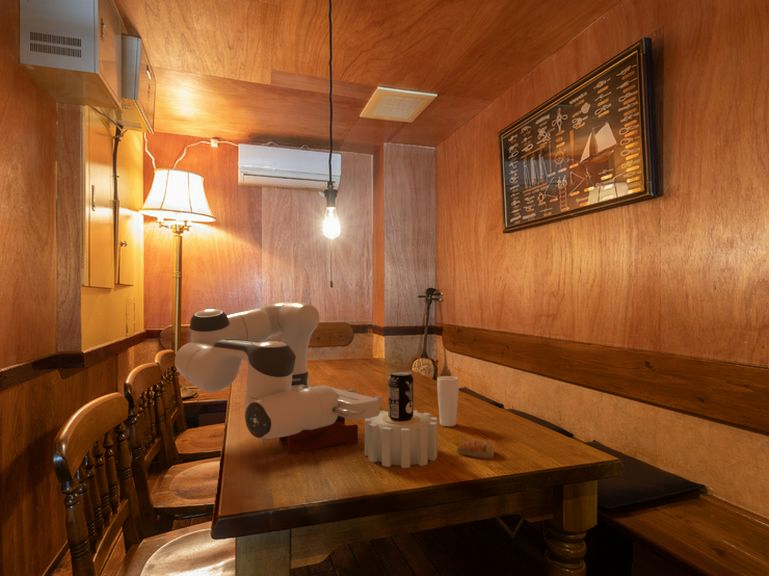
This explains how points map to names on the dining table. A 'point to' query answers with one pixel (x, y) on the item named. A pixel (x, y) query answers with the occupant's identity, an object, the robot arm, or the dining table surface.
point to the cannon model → (321, 437)
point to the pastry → (476, 448)
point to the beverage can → (400, 395)
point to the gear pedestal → (401, 439)
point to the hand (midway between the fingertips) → (367, 396)
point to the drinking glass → (447, 399)
